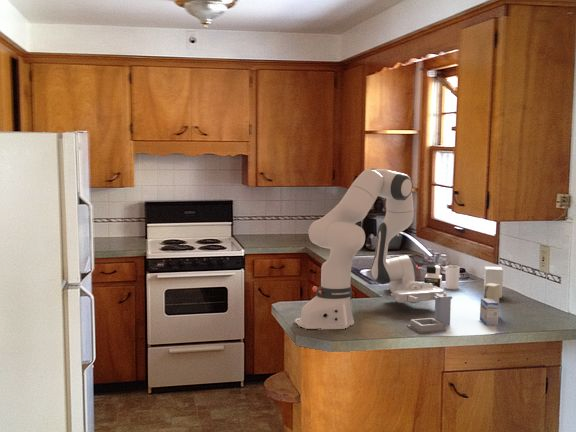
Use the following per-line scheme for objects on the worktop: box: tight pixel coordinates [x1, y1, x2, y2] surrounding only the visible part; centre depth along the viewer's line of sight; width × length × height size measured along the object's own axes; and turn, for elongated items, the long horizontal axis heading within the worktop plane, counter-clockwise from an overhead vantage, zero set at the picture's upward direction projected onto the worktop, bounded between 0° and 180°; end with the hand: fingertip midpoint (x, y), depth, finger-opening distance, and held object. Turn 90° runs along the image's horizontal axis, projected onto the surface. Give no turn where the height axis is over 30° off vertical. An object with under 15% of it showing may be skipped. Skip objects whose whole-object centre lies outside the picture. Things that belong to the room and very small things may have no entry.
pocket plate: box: [406, 317, 448, 334], centre depth 261 cm, size 11×10×3 cm
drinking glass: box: [444, 265, 461, 290], centre depth 331 cm, size 7×7×10 cm
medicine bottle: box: [423, 264, 443, 289], centre depth 324 cm, size 7×7×12 cm
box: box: [483, 283, 500, 317], centre depth 278 cm, size 5×4×13 cm
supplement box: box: [483, 266, 504, 299], centre depth 315 cm, size 7×7×13 cm
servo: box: [434, 292, 453, 327], centre depth 267 cm, size 6×4×12 cm, turn 106°
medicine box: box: [479, 297, 500, 326], centre depth 269 cm, size 8×4×9 cm, turn 4°
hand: (428, 299), depth 278 cm, fingers open, 8 cm apart
